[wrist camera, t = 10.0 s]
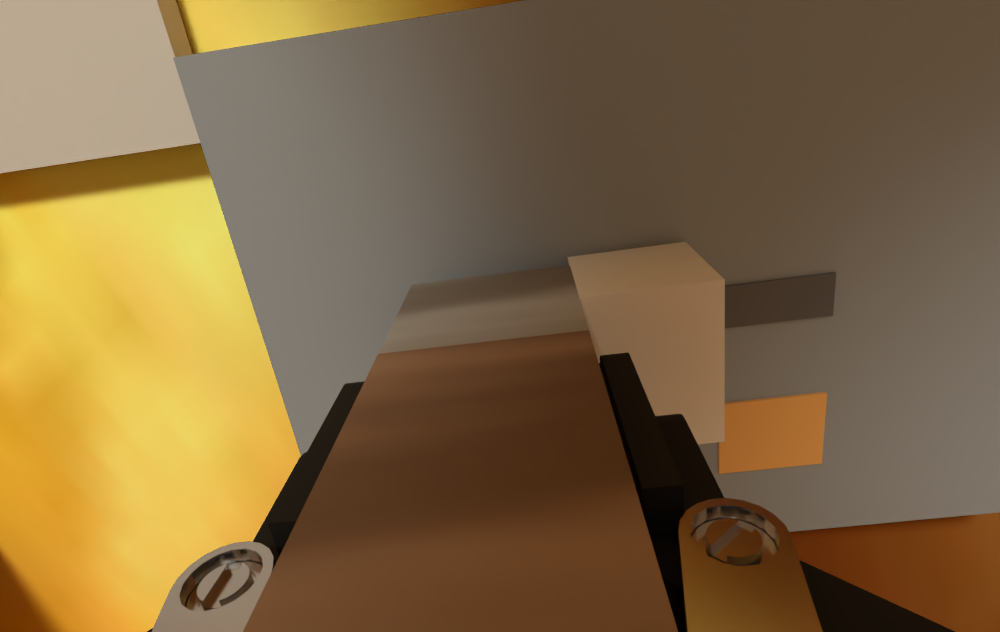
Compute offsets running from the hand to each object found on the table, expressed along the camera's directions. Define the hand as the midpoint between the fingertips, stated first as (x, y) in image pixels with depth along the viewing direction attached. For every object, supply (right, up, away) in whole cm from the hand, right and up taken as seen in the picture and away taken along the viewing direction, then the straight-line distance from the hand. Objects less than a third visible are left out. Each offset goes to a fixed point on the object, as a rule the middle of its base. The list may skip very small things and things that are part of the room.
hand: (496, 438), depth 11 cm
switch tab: (+4, +2, +4) cm, 6 cm away
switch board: (+5, +4, +7) cm, 9 cm away
